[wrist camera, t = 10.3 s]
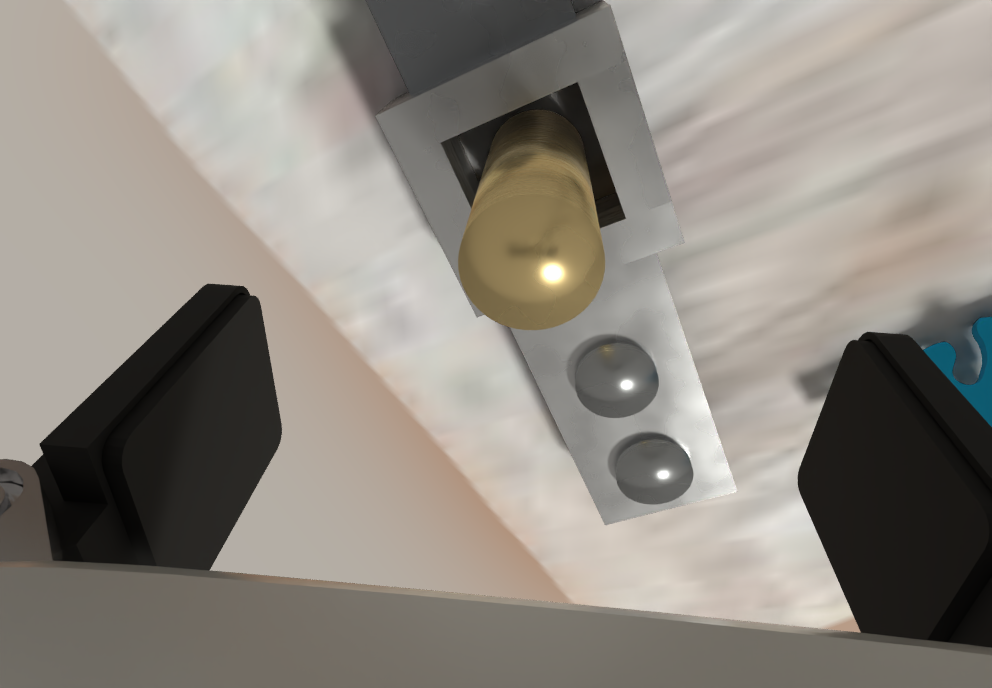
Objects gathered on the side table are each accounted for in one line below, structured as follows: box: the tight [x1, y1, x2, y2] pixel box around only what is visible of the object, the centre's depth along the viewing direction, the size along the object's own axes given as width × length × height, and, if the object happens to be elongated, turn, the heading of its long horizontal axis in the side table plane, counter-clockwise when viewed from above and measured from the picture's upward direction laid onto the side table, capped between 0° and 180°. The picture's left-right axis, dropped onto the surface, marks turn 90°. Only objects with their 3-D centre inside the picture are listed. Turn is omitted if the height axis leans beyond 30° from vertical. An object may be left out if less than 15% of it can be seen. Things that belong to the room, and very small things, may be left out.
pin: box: [458, 110, 605, 330], centre depth 20 cm, size 4×4×10 cm
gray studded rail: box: [366, 0, 737, 525], centre depth 23 cm, size 32×8×4 cm, turn 24°
